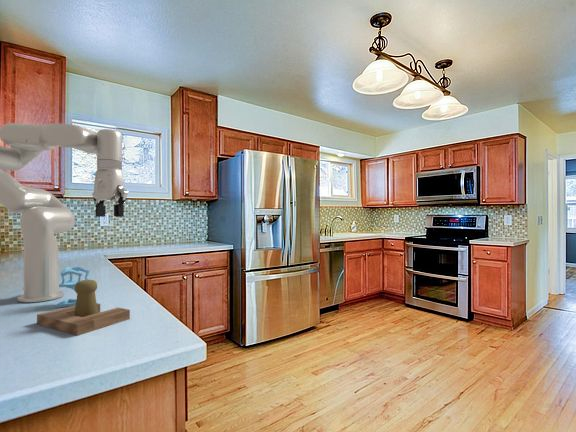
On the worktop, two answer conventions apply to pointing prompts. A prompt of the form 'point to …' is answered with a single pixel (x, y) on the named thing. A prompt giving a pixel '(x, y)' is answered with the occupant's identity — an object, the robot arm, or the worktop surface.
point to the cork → (86, 298)
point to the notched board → (81, 319)
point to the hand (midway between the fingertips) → (109, 216)
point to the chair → (71, 283)
